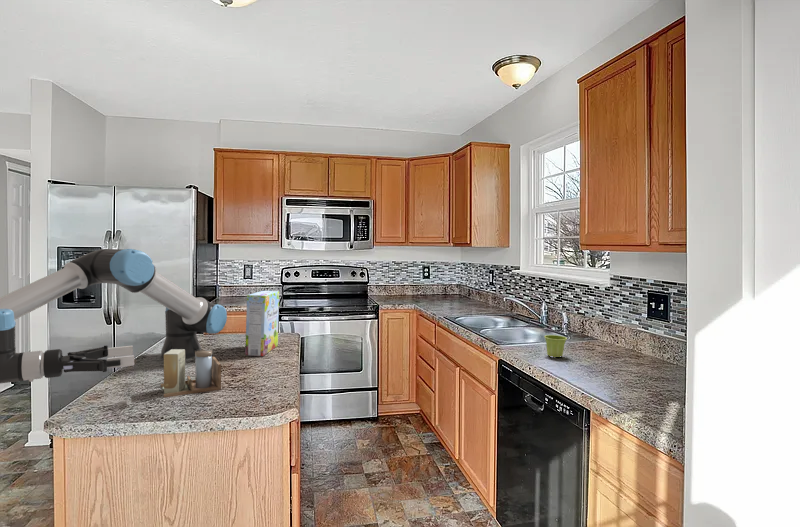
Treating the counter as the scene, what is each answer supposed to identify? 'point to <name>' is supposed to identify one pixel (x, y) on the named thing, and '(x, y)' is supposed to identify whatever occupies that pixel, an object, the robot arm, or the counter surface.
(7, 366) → the robot arm
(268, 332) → the snack box
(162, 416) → the counter surface
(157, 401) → the counter surface
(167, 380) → the skincare box
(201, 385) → the spice jar
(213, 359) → the rack
